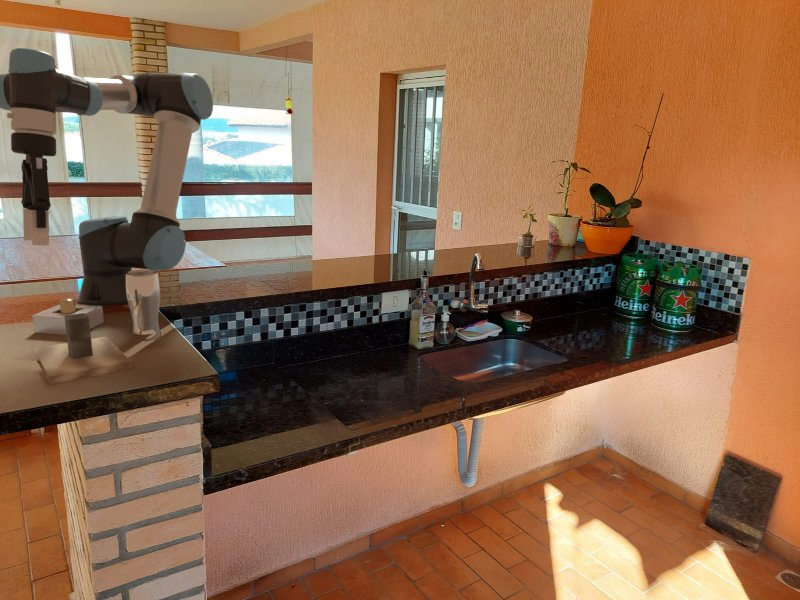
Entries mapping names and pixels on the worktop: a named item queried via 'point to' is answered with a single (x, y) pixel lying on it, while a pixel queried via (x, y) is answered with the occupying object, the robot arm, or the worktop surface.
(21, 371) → the worktop surface
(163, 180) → the robot arm
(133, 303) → the beer glass
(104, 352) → the hub base
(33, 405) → the worktop surface
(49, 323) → the white square frame
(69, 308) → the stand
